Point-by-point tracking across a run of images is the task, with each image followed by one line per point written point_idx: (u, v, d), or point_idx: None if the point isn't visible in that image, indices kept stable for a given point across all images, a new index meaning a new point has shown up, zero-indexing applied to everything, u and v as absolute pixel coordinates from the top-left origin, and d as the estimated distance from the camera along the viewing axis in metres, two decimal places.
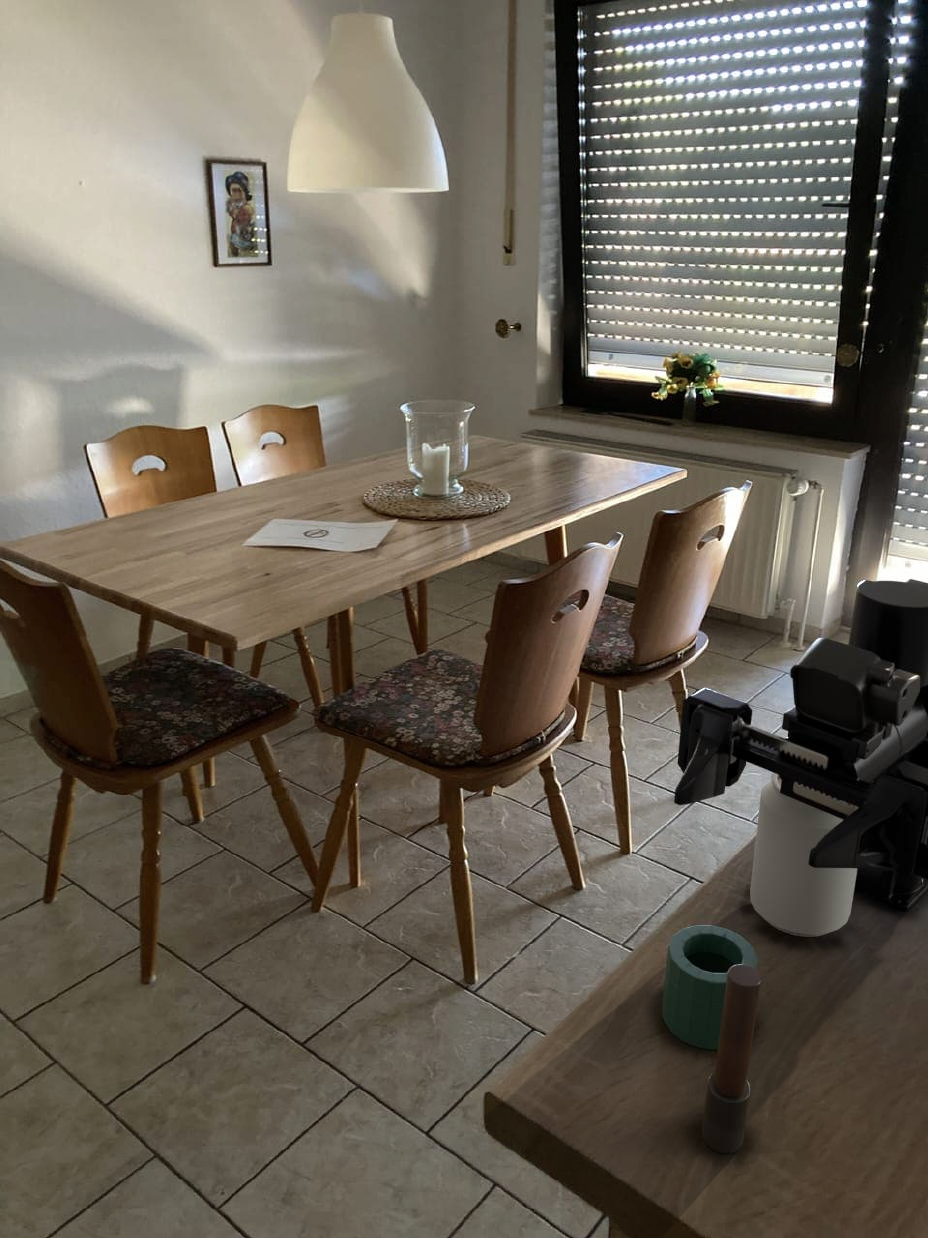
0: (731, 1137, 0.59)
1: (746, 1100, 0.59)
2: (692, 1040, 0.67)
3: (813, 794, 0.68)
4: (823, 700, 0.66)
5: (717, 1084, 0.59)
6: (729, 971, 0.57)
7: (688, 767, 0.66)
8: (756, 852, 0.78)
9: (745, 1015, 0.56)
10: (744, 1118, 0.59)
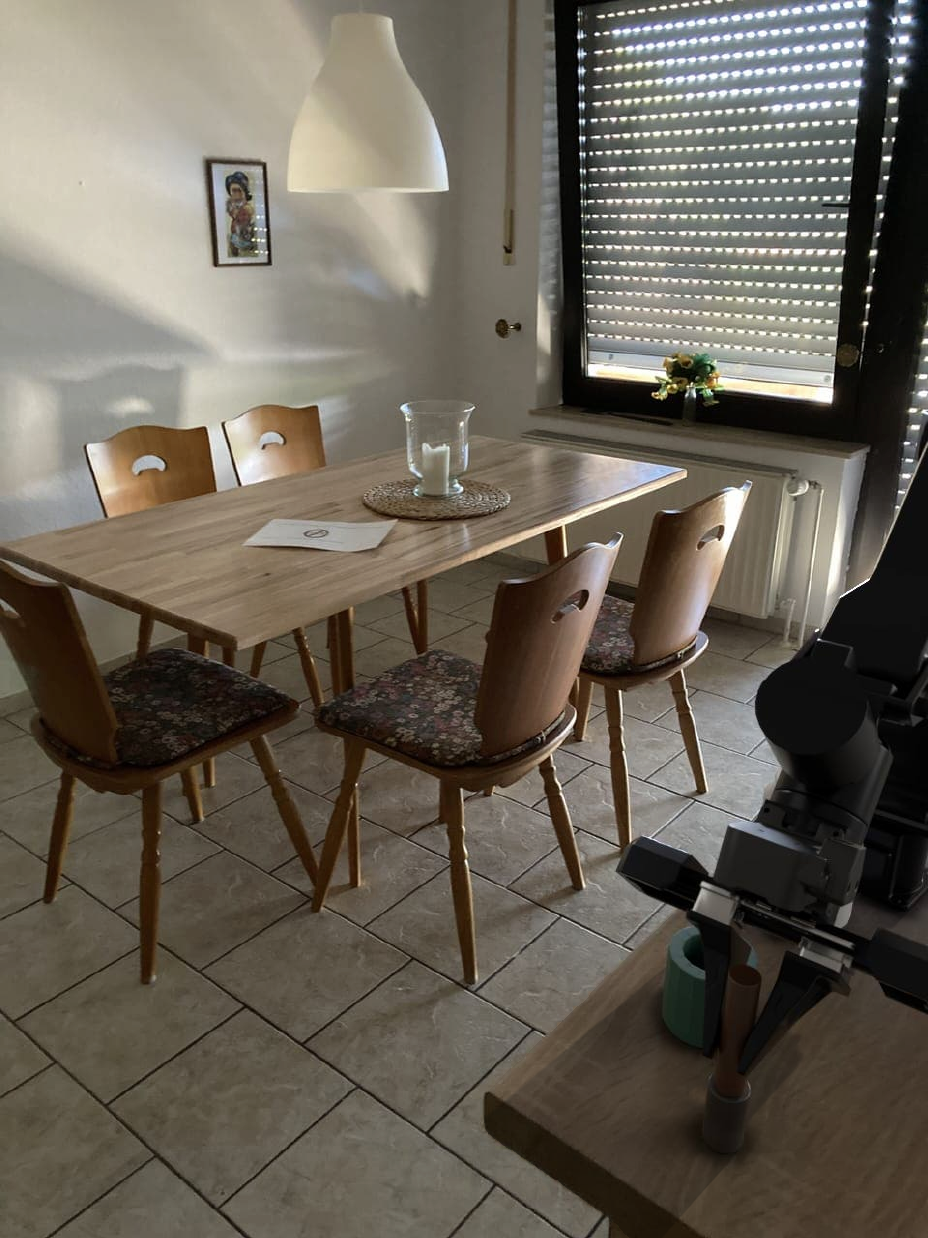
0: (731, 1137, 0.59)
1: (746, 1100, 0.59)
2: (692, 1040, 0.67)
3: None
4: None
5: (717, 1084, 0.59)
6: (730, 971, 0.57)
7: (705, 1010, 0.58)
8: None
9: (746, 1015, 0.56)
10: (744, 1118, 0.59)
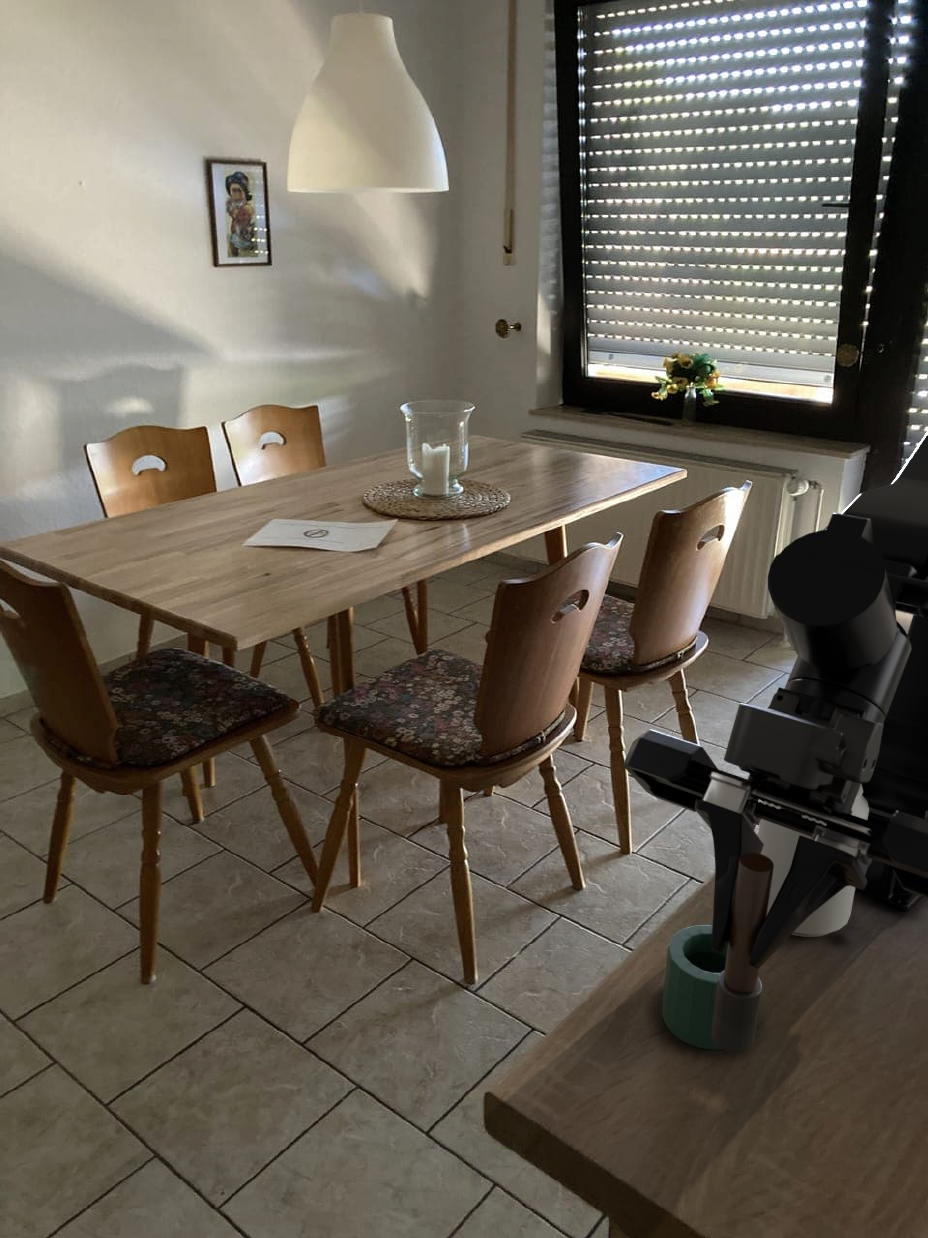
0: (741, 1035, 0.57)
1: (757, 996, 0.57)
2: (692, 1040, 0.67)
3: None
4: None
5: (727, 980, 0.57)
6: (740, 858, 0.55)
7: (715, 902, 0.56)
8: None
9: (757, 904, 0.54)
10: (755, 1016, 0.57)
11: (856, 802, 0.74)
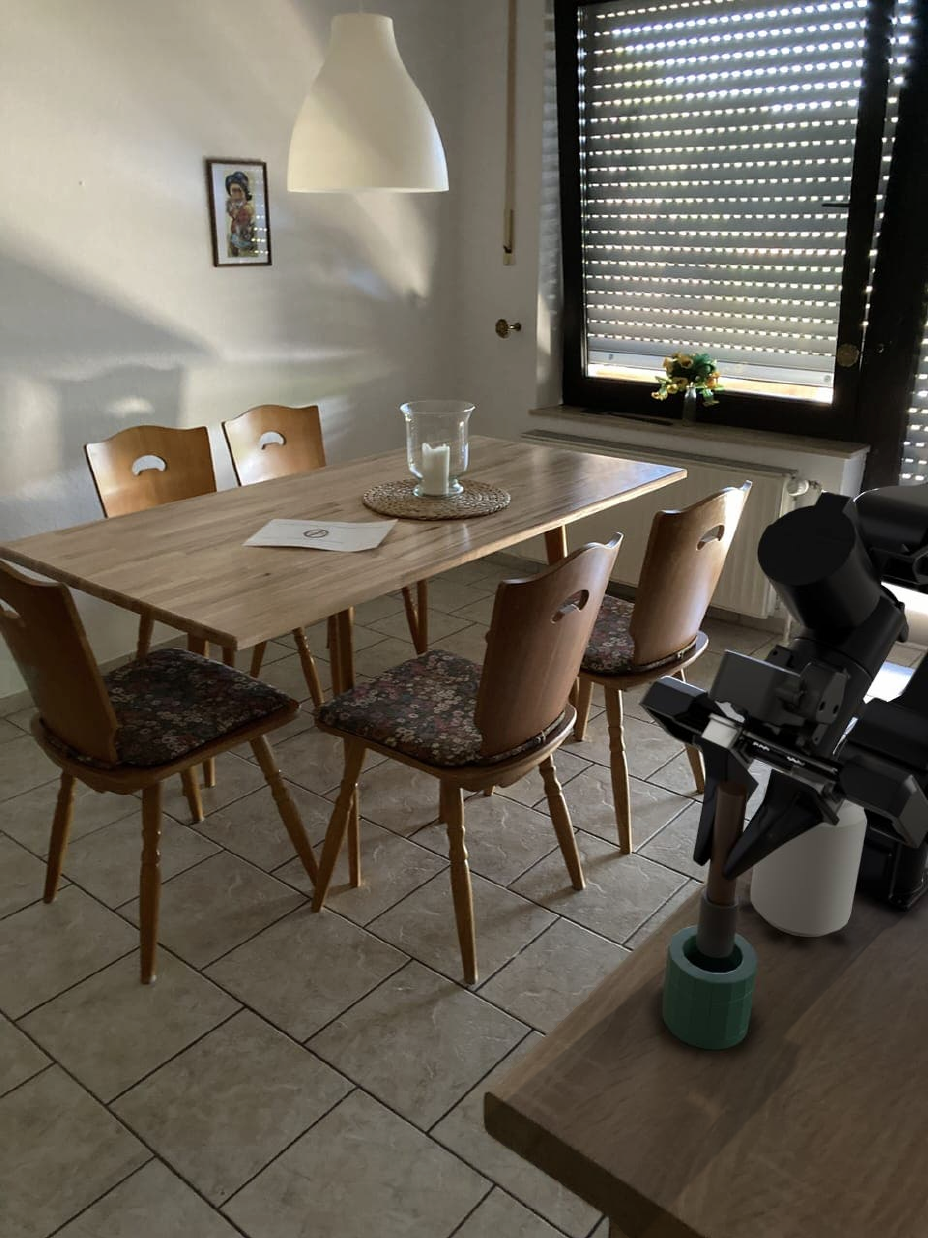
0: (718, 941, 0.66)
1: (733, 908, 0.65)
2: (692, 1040, 0.67)
3: None
4: None
5: (708, 891, 0.66)
6: (720, 784, 0.64)
7: (700, 822, 0.65)
8: None
9: (731, 824, 0.63)
10: (731, 926, 0.66)
11: None
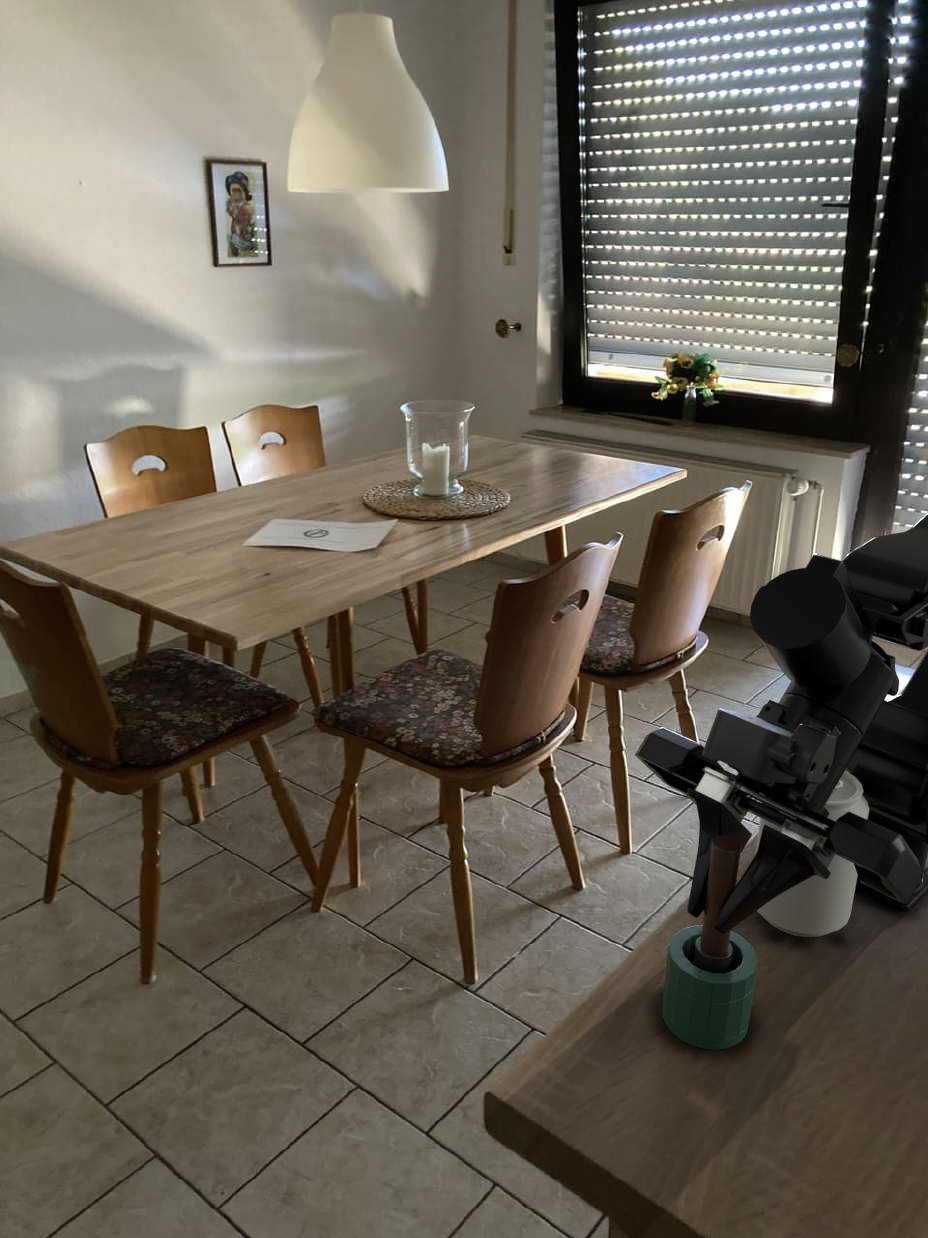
0: None
1: (726, 959, 0.67)
2: (692, 1040, 0.67)
3: None
4: None
5: (702, 942, 0.67)
6: (714, 839, 0.65)
7: (694, 875, 0.67)
8: None
9: (724, 878, 0.65)
10: None
11: (856, 802, 0.74)
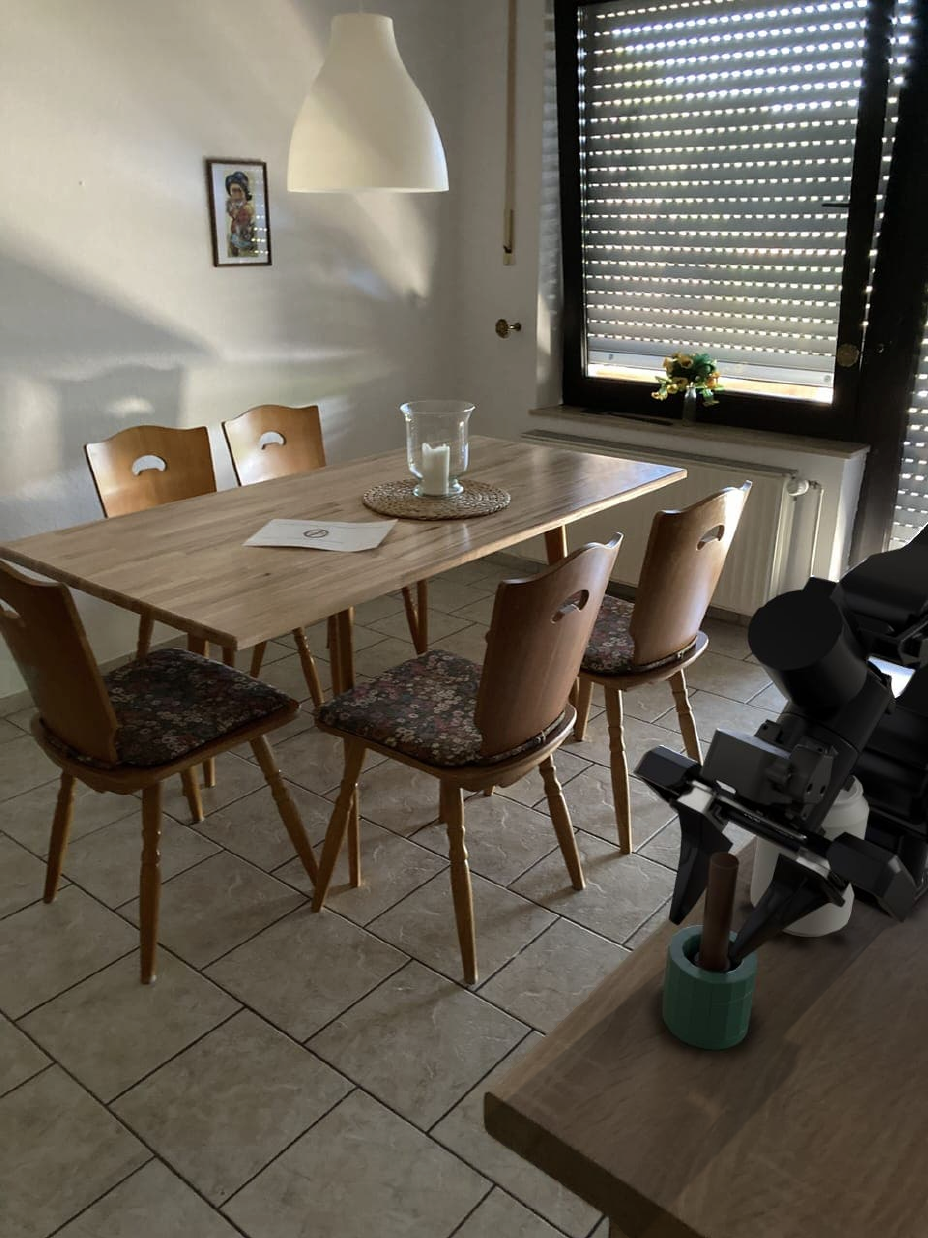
0: None
1: None
2: (692, 1040, 0.67)
3: None
4: None
5: (700, 957, 0.68)
6: (712, 855, 0.66)
7: (676, 883, 0.68)
8: (758, 851, 0.79)
9: (722, 894, 0.65)
10: None
11: (856, 802, 0.74)
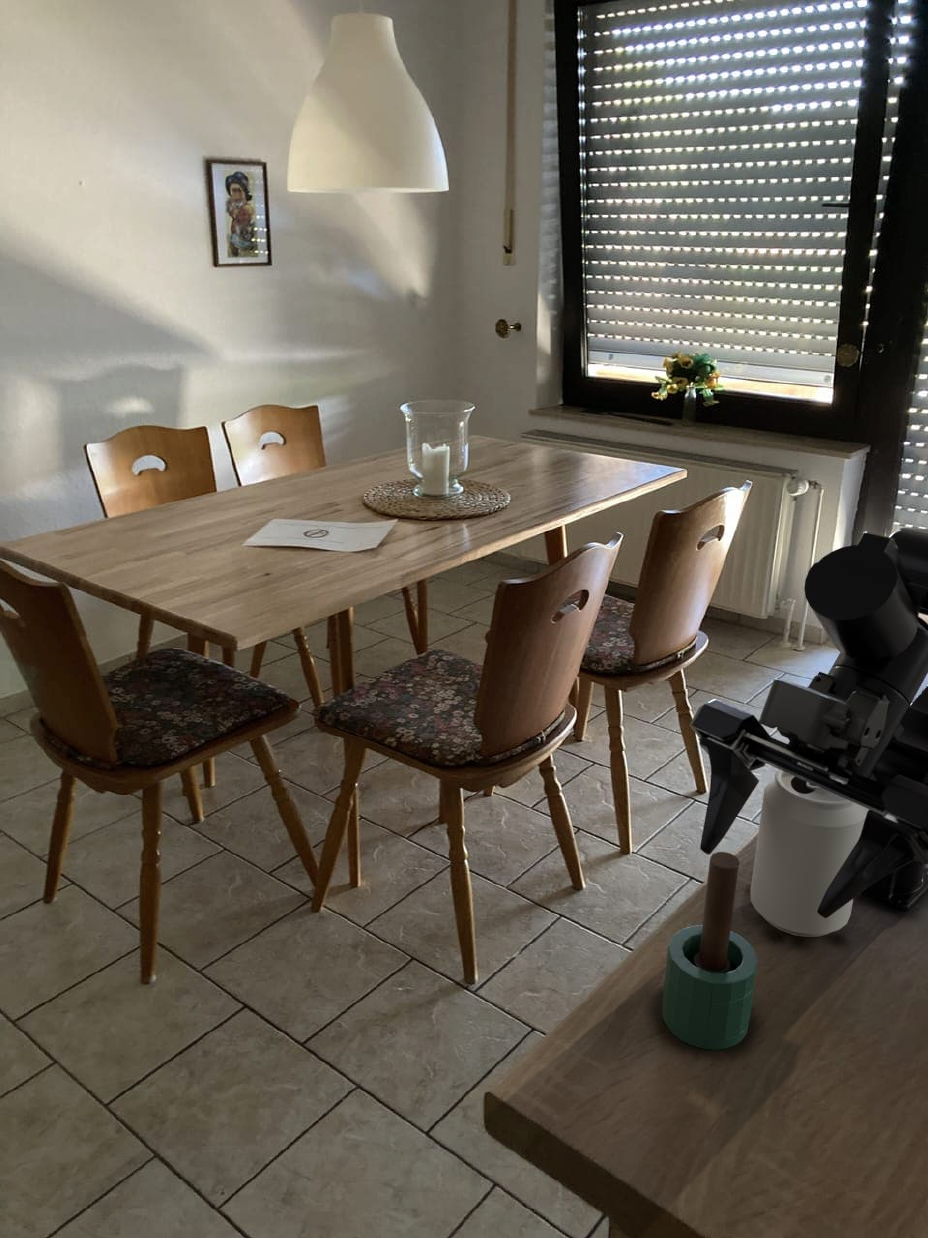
0: None
1: None
2: (692, 1040, 0.67)
3: None
4: None
5: (700, 957, 0.68)
6: (712, 855, 0.66)
7: (706, 815, 0.73)
8: (758, 851, 0.79)
9: (722, 894, 0.65)
10: None
11: None
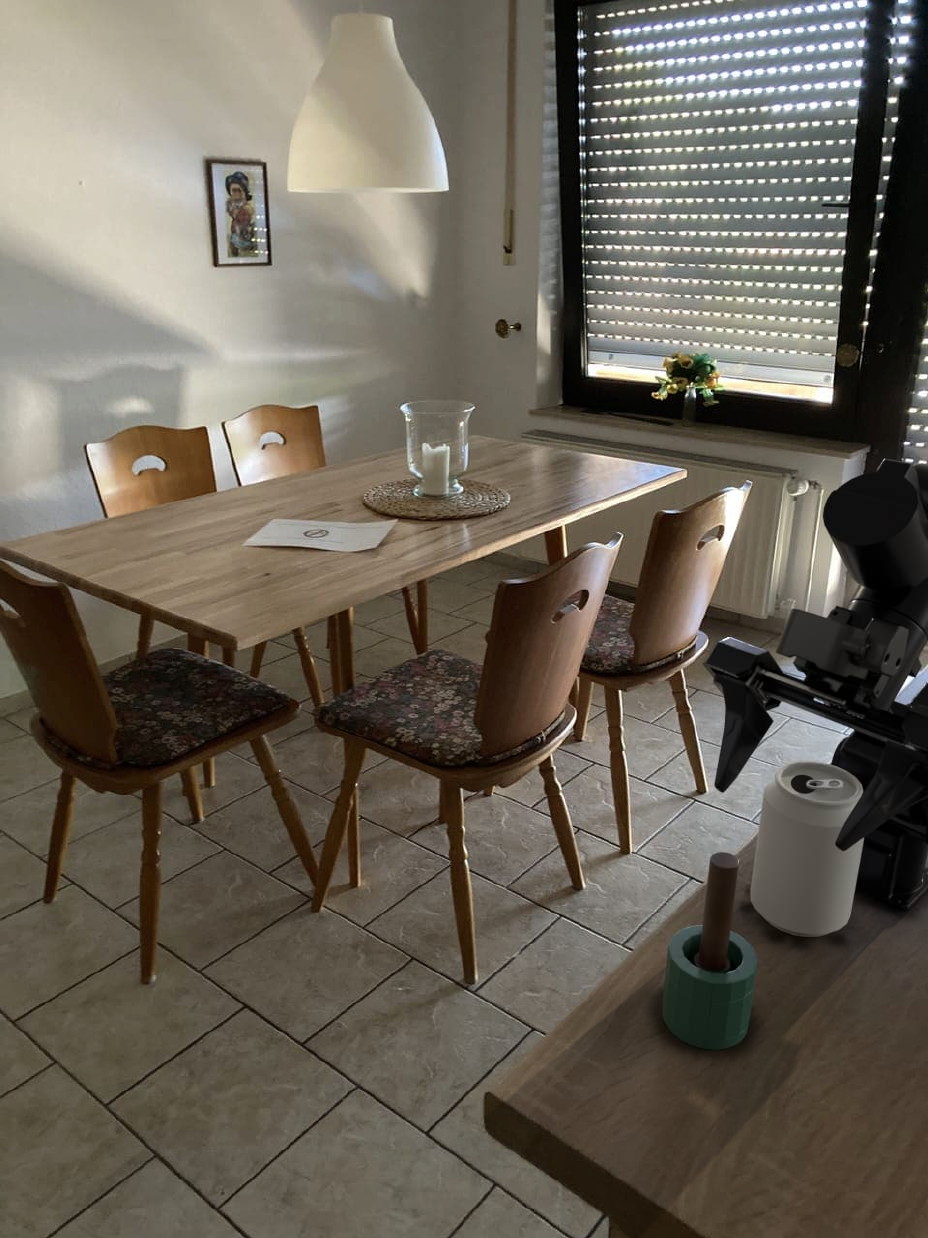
0: None
1: None
2: (692, 1040, 0.67)
3: None
4: None
5: (700, 957, 0.68)
6: (712, 855, 0.66)
7: (721, 753, 0.72)
8: (758, 851, 0.79)
9: (722, 894, 0.65)
10: None
11: (856, 802, 0.74)
